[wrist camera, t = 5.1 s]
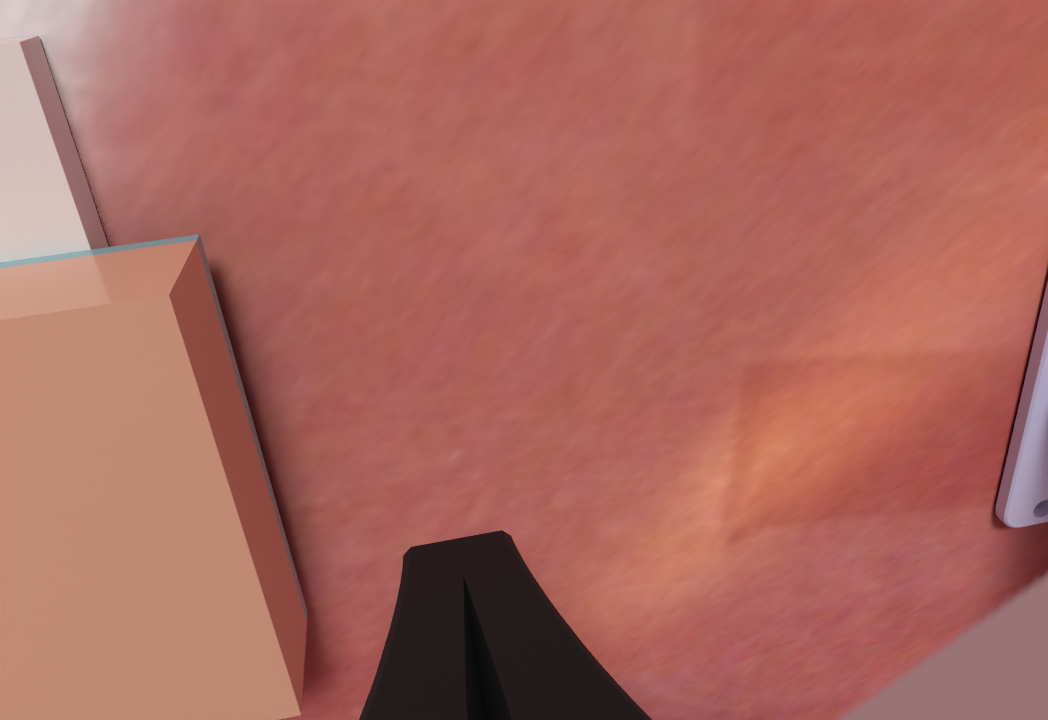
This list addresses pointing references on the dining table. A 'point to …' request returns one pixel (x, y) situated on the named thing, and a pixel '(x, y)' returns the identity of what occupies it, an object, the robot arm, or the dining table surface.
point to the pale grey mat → (39, 163)
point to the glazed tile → (136, 500)
